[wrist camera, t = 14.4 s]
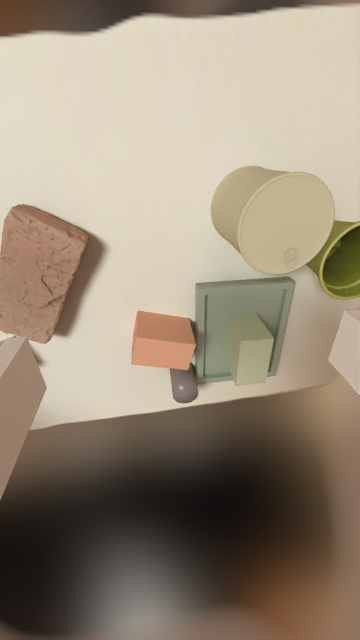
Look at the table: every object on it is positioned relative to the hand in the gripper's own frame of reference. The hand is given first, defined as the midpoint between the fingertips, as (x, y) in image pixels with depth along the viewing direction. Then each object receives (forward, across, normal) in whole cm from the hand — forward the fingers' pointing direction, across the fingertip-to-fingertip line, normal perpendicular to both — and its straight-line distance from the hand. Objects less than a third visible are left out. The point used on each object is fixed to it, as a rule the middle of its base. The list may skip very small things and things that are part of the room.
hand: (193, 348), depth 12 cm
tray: (+27, +12, -18) cm, 34 cm away
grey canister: (+27, +2, -25) cm, 37 cm away
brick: (+27, -16, -6) cm, 32 cm away
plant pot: (+27, +22, -4) cm, 35 cm away
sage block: (+26, +11, -18) cm, 33 cm away
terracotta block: (+27, -1, -16) cm, 31 cm away
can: (+27, +11, +1) cm, 29 cm away
